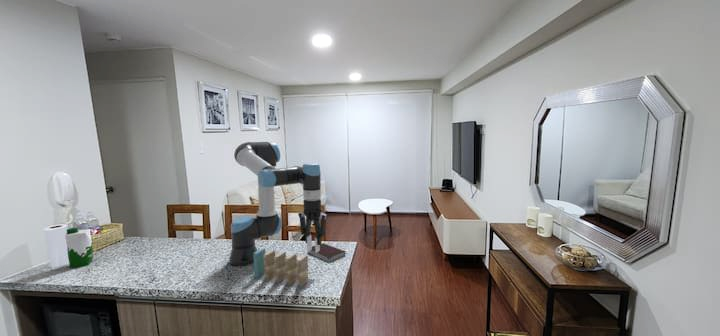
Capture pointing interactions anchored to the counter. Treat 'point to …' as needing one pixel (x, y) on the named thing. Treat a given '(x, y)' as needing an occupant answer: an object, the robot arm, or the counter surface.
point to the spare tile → (259, 262)
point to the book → (327, 252)
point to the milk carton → (79, 247)
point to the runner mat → (283, 282)
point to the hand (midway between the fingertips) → (313, 250)
